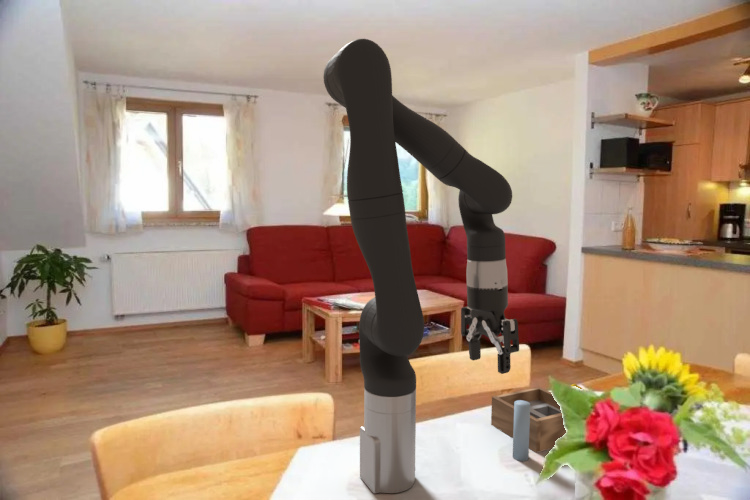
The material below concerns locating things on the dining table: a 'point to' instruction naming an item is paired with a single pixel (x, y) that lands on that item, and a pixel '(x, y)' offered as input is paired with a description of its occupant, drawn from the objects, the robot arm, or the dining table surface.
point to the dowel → (521, 430)
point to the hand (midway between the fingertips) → (489, 365)
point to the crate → (542, 416)
